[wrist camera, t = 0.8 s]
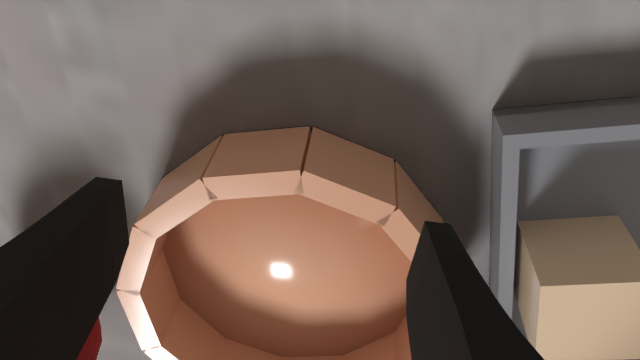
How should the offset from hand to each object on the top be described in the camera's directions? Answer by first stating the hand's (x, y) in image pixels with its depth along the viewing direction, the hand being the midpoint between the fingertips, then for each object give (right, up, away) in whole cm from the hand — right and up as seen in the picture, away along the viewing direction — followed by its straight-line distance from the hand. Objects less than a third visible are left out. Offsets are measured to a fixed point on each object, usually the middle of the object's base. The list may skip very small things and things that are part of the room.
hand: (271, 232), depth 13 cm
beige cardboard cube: (+12, -2, +11) cm, 16 cm away
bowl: (0, -3, +13) cm, 13 cm away
